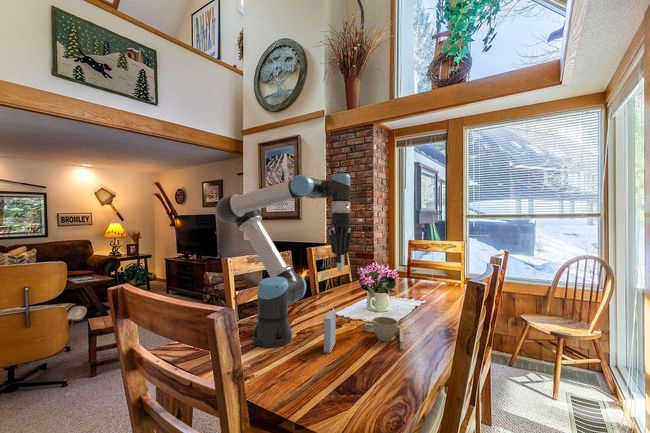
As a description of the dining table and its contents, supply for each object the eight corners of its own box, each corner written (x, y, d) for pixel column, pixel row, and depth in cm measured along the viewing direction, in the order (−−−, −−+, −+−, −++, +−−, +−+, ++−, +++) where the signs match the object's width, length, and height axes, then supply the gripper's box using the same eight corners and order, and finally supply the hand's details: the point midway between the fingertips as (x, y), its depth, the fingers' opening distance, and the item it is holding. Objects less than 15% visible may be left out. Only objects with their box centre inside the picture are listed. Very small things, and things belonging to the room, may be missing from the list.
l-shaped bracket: (361, 345, 111) (361, 337, 111) (365, 330, 126) (365, 323, 126) (404, 350, 107) (404, 341, 107) (403, 333, 122) (403, 326, 122)
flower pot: (398, 345, 111) (398, 326, 111) (371, 343, 113) (371, 324, 113) (397, 335, 121) (397, 317, 121) (372, 333, 123) (372, 315, 123)
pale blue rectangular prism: (323, 352, 105) (324, 318, 105) (329, 341, 114) (329, 310, 114) (330, 352, 105) (330, 318, 105) (335, 342, 113) (335, 311, 113)
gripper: (335, 212, 113) (335, 274, 112) (358, 212, 121) (358, 270, 121) (322, 212, 118) (322, 271, 118) (345, 212, 127) (345, 267, 127)
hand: (340, 270), depth 120 cm, fingers closed
